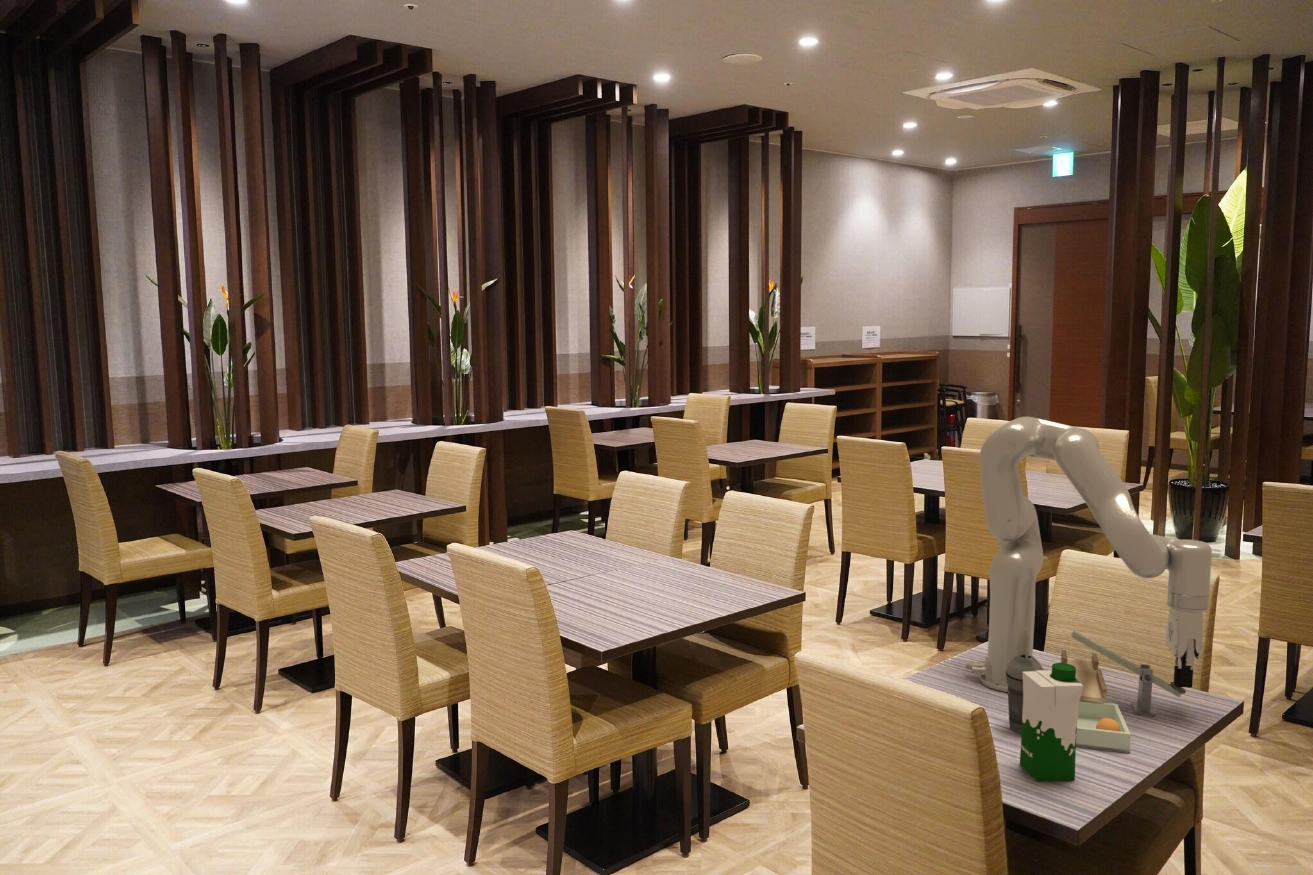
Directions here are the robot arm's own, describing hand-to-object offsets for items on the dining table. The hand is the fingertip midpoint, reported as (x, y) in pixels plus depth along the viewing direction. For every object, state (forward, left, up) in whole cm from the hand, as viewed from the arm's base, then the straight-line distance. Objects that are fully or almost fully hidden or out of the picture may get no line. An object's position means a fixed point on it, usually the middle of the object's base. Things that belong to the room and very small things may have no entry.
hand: (1182, 685), depth 205 cm
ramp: (-20, -2, -6) cm, 21 cm away
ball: (-17, -19, -4) cm, 26 cm away
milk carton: (-30, -36, -7) cm, 47 cm away
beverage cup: (-33, -18, -7) cm, 38 cm away
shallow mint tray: (-20, -15, -6) cm, 26 cm away
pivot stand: (-7, 0, -6) cm, 9 cm away
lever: (-11, 0, +3) cm, 11 cm away
